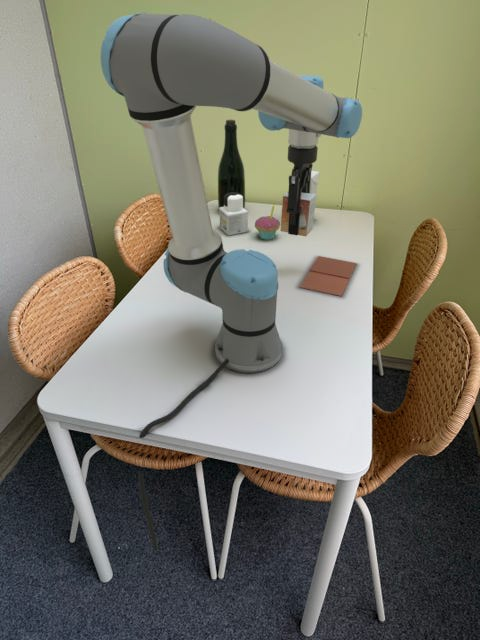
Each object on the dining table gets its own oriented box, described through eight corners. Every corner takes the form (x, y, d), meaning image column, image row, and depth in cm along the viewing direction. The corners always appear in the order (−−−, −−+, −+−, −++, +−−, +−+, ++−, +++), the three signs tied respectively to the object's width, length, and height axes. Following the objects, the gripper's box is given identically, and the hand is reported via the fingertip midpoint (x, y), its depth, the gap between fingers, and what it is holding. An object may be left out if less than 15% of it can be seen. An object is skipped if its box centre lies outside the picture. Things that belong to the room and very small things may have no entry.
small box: (280, 231, 125) (281, 195, 119) (287, 224, 129) (289, 189, 123) (306, 237, 122) (310, 200, 116) (313, 229, 126) (316, 193, 120)
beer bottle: (223, 204, 177) (221, 116, 158) (248, 207, 174) (249, 118, 155) (214, 214, 169) (211, 122, 150) (240, 217, 166) (240, 124, 147)
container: (219, 227, 158) (218, 192, 151) (238, 224, 161) (238, 189, 154) (228, 235, 153) (227, 199, 145) (248, 231, 155) (248, 196, 148)
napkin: (341, 296, 121) (342, 294, 120) (299, 287, 124) (299, 285, 124) (356, 264, 136) (356, 263, 135) (318, 257, 139) (318, 256, 139)
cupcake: (279, 232, 155) (281, 199, 148) (278, 242, 148) (280, 208, 141) (255, 231, 156) (255, 198, 149) (253, 241, 149) (254, 207, 142)
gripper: (306, 156, 104) (299, 245, 117) (326, 138, 118) (318, 219, 131) (276, 152, 106) (272, 240, 120) (299, 135, 120) (294, 216, 134)
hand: (296, 229), depth 125 cm, fingers closed on small box, 6 cm apart
